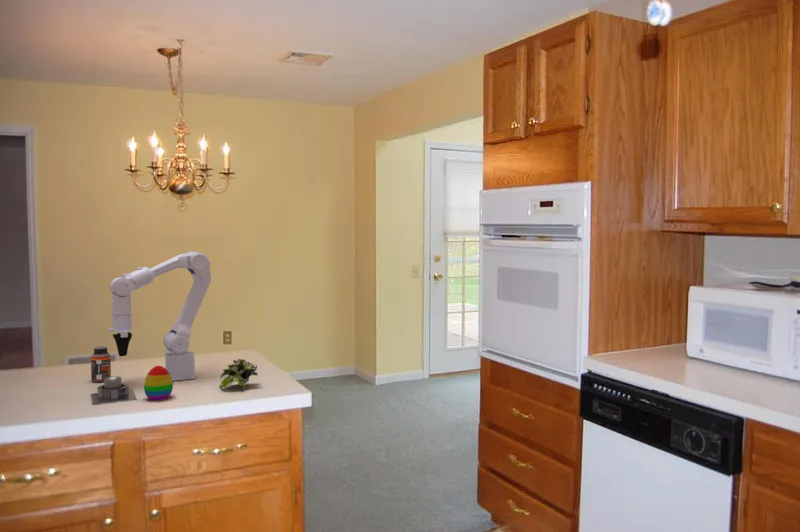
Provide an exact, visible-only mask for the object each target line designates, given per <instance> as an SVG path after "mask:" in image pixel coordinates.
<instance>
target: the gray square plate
mask: <svg viewBox="0 0 800 532" xmlns="http://www.w3.org/2000/svg"><path fill="white" fill-rule="evenodd" d="M121 383H122V388H118V389H104V384H101V385H99V386H98V387H97V391H96V392H94V393H90V399H91V402H92V406H94V404H96V405H102V404H101V403H105V404H111V402H113V403H119V402H118V401H121V402H128V401H127V400H129V401H136V400H138V399H137V396H136V394H135V391H134V390H133V389H132V388H130V387H129V384H128V383H127V382H126V383H125V382H121ZM129 388H130V389H129Z"/></svg>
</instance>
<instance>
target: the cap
mask: <svg viewBox="0 0 800 532" xmlns="http://www.w3.org/2000/svg"><path fill="white" fill-rule="evenodd" d="M122 383H123V382H122V377H121V376H111V377H108V378H105V379H104V382H103V385H104V389H118V388H122Z"/></svg>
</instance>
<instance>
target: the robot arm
mask: <svg viewBox="0 0 800 532" xmlns="http://www.w3.org/2000/svg"><path fill="white" fill-rule="evenodd" d="M175 269H186V270H187V271H188V272H189V273H190V275H191V276H192V280H193V283H192V285H191V287H190V288H189V289H190V290H189V292H188V294H187V295H186V296H187V297H186V298H185V301H184V303H183V305H182V307H181V310H180V312H179V314H178V316H177V317H178V318H177V319H176V321H175V323H173V325H172V326H171V328H170V330H169V331H168V332H167V333H166V334H165V335H164V337H163V339H162V343H163V345H164V347H165V348H166V349H165V350H164V353H165V354H164V358H165V359H164V362H165V363H164V365H165V366H164V368H165V369H166V370H167V371H168V372H169V373H170V375H171V378H172V382H175V381H184V380H192V379H196V373H195V372H196V366H195V365H196V364H195V363H196V362H195V354H194V352H193V351H188V350H189V347H190V338H191V335H192V333H191V332H192V331H191V328H192V325H193V323H194V321H195V319H196V317H197V314H198V313H199V309H200V307H201V305H202V303H203V300H204V297H205V296H206V293H207V291H208V288H209V287H210V284H211V281H212V277H211V276H212V275H211V262H210V260H209V258H208V257H207V255H206V254H205V253H203V252H196V251H193V250H190V251H187V252H185V253H180V254H178V255H176V256H174V257H170V258H169V259H167V260H165V261H163V262H161V263H159V264H157V265H155V266H152V267H151V268H149V267H147V266H143V267H142V266H139V267H137V268H136V270H134V271H132V272H130V273H129V272H128V273H123V274H122V276H123V277H122V276H121V277H116V278H113V280H111V281H110V284H109V287H108V288H109V291H110V292H111V315H112V316H111V319H112V320H111V322H112V323H111V324H112V327H110V328H109V327H108V329H107V330H108V331H109V332H114V334H112V337H113V339H114V340H115V344H116V348H117V353H118V356H119V357H126V356H127V354H128V350H129V349H128V348H129V344H130V342H131V339H132V337H133V335H132V334H133V333H132V332H131V331H132V330H133V325H132V300H131V294H132V292H133V291H136V290H139V289H141V288H143V287H145V286H148V285H149V284H153V282H154V281H155V278H156V277H159V276H162V275H164V274H166V273H168V272H170V271H171V272H172V271H173V270H175Z"/></svg>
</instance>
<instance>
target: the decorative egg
mask: <svg viewBox="0 0 800 532" xmlns="http://www.w3.org/2000/svg"><path fill="white" fill-rule="evenodd" d="M144 379H145V380H144V382H143V383H144V385H143V388H144V393H145V396H146V397H147V398H148V400H150V401H156V400H157V401H164V400H166V399H168V398H169V397H170V396H171V394H172V392H173V388H174V387H173V386H174V381H172V378H171V375H170V373H169V372H168V371H167V370H166V369H165V366H161V365H156V366H154V367H152V368H151V369H150V370H149V371H148V372H147V375H146V376H145V378H144Z"/></svg>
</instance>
